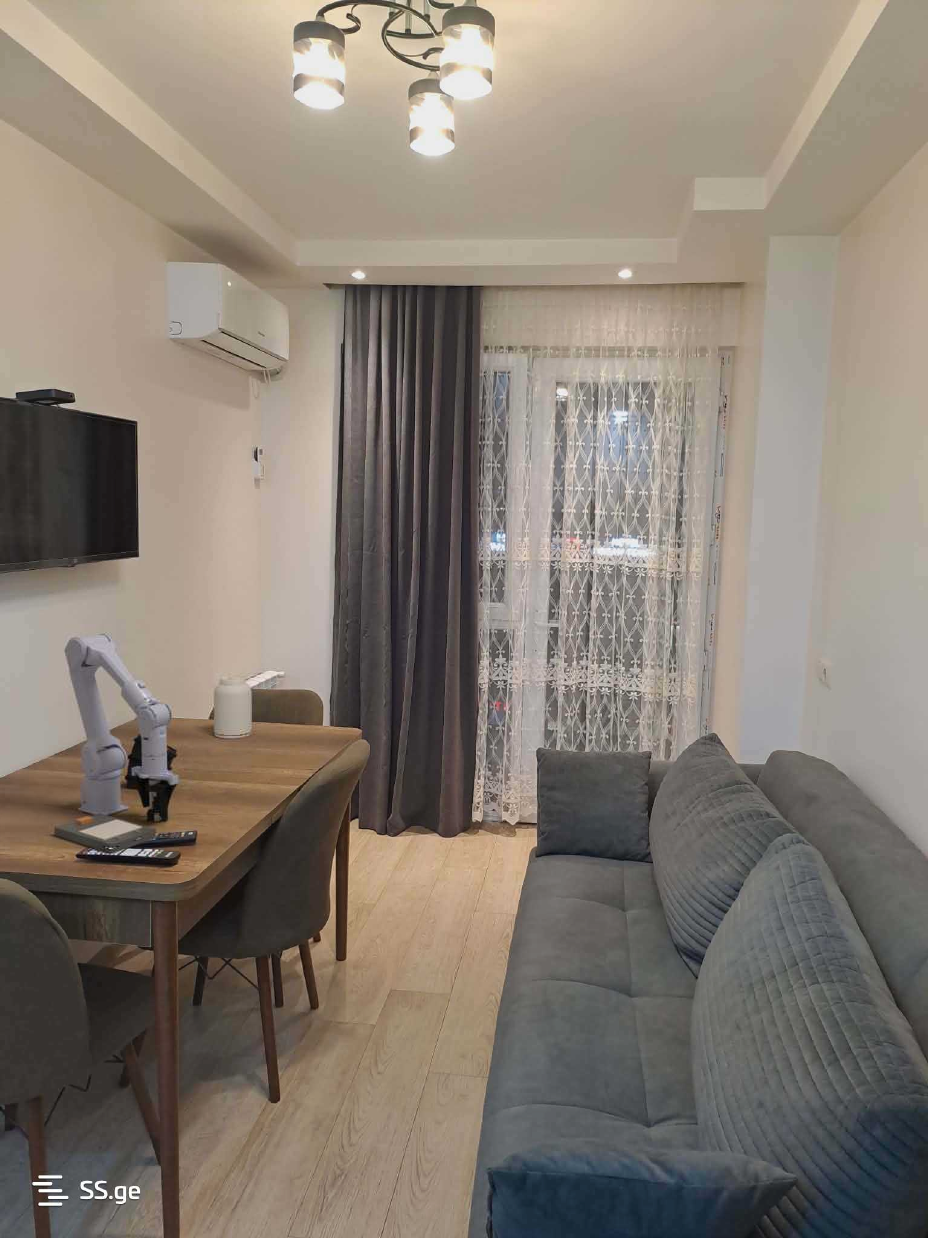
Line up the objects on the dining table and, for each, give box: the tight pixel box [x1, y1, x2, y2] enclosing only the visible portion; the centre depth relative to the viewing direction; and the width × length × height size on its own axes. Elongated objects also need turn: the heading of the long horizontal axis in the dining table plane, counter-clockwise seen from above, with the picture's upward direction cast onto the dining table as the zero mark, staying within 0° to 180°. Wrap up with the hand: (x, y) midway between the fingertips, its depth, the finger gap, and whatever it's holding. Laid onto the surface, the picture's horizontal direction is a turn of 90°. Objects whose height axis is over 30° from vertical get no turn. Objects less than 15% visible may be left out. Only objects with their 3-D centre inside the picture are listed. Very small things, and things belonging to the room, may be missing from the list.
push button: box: [139, 779, 169, 822], centre depth 215 cm, size 7×5×10 cm
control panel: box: [53, 813, 157, 854], centre depth 203 cm, size 20×12×3 cm, turn 59°
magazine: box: [124, 733, 178, 790], centre depth 240 cm, size 4×13×15 cm, turn 84°
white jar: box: [213, 675, 253, 740], centre depth 303 cm, size 12×12×20 cm
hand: (155, 808), depth 215 cm, fingers open, 5 cm apart
